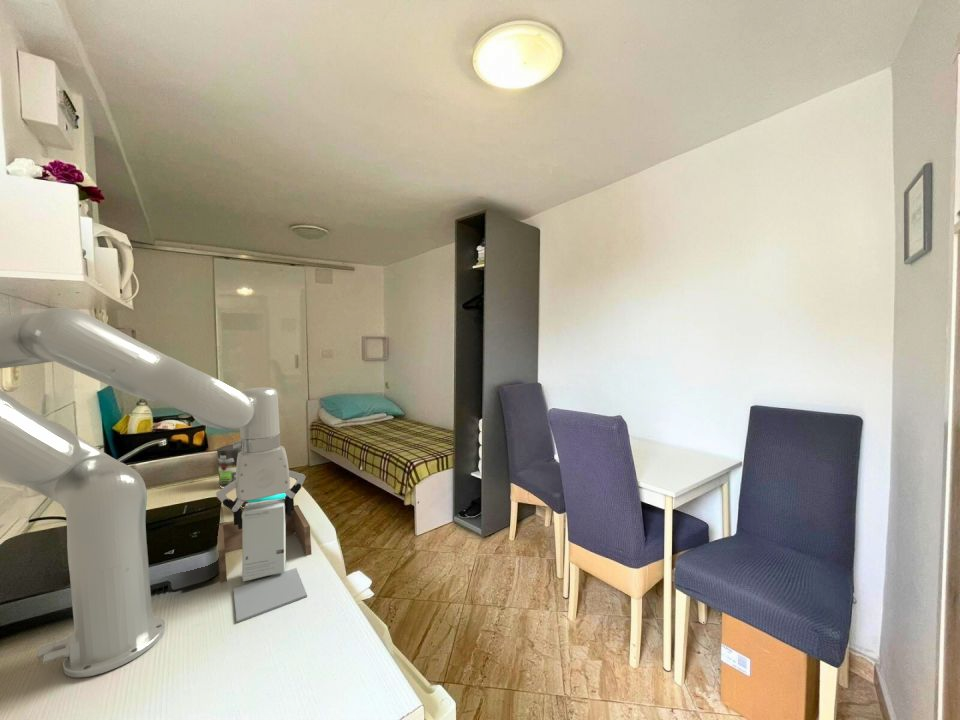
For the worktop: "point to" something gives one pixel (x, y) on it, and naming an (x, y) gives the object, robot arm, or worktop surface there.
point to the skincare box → (263, 539)
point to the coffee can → (227, 464)
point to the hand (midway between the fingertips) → (265, 520)
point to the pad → (268, 594)
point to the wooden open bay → (233, 537)
